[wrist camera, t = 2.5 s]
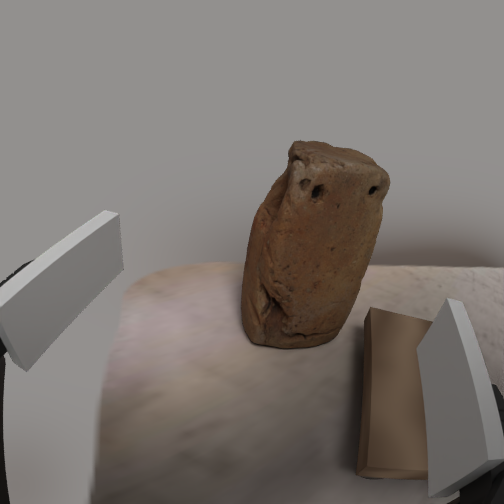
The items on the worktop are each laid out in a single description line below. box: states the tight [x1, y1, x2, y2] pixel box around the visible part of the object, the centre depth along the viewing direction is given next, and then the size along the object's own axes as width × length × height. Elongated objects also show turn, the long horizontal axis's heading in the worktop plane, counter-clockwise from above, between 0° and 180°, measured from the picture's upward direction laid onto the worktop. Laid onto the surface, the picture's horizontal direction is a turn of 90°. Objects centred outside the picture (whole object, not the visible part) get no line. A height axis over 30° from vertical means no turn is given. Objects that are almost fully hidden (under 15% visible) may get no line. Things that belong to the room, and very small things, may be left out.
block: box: [241, 141, 390, 348], centre depth 29 cm, size 11×8×20 cm
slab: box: [356, 307, 433, 480], centre depth 24 cm, size 14×18×5 cm
